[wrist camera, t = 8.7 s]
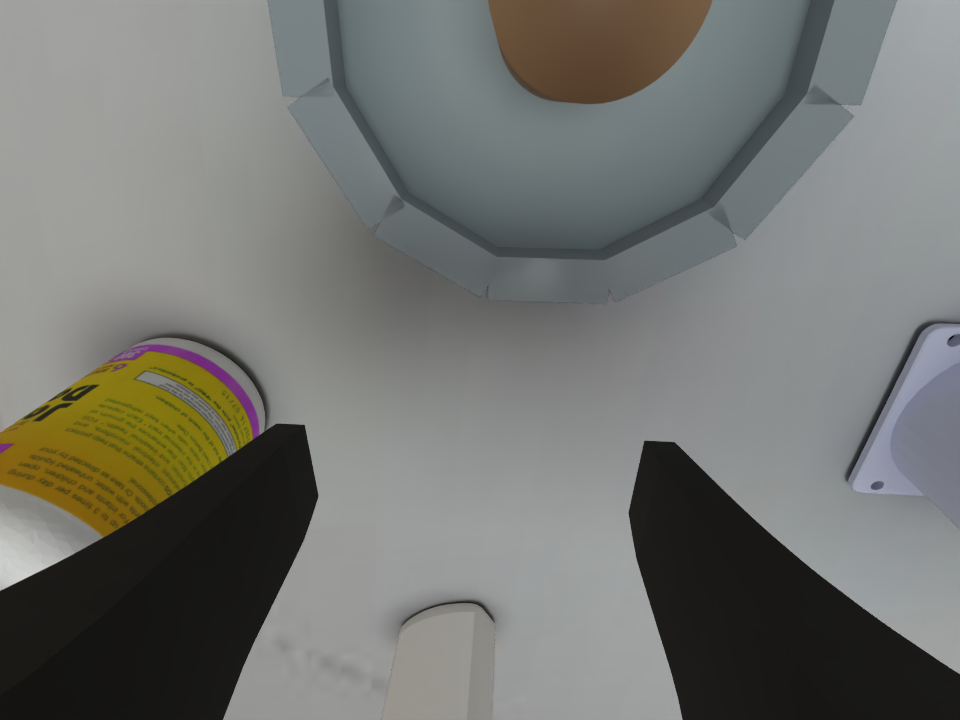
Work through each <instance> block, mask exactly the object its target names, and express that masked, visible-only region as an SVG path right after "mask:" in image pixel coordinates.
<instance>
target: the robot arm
mask: <svg viewBox="0 0 960 720" xmlns="http://www.w3.org/2000/svg"><path fill="white" fill-rule="evenodd" d="M953 335H954V337H953V338H952V339H951V340H949V341H948V339H949V338H950V337H951V336H953ZM848 484H849V486H850V487H851V488H852V489H853V490H854V491H856V492H859V493H874V494H894V495H914V496H926V497H927V498H928V499H929V500H930V501H931V502H932V503H933V504H934V505H935V506H936V507H937V508H938V509H939V510H940V511H941V512H942V513H943V514H944V515H945V516H946V517H947V518H948V519H949V520H950V521H951V522H952V523H953V524H955V525H956V526H957V527H958V528H959V529H960V324H942V323H940V324H933V325H931V326H929V327H927V328H926V329H925V330H923V331H922V333H921V334H920V336H919V338H918V340H917V342H916V344H915V346H914V348H913V350H912V352H911V354H910V356H909V358H908V360H907V362H906V364H905V366H904V368H903V370H902V372H901V374H900V376H899V378H898V380H897V382H896V384H895V386H894V388H893V390H892V392H891V394H890V396H889V398H888V400H887V402H886V404H885V406H884V408H883V410H882V413H881V415H880V417H879V419H878V421H877V423H876V425H875V427H874V429H873V431H872V433H871V435H870V437H869V439H868V441H867V443H866V445H865V447H864V449H863V451H862V453H861V455H860V457H859V459H858V461H857V463H856V465H855V467H854V469H853V471H852V473H851V475H850V477H849V480H848ZM317 499H318V491H317V486H316V481H315V476H314V471H313V466H312V461H311V455H310V450H309V445H308V440H307V435H306V430H305V425H295V424H276V425H274V426H272V427H271V428H269V429H268V430H266V431H265V432H263V433H262V434H260V435H259V436H257V437H256V438H254V439H253V440H252V441H250V442H249V443H247V444H246V445H244V446H243V447H242V448H240V449H239V450H237V451H236V452H234V453H233V454H232V455H230V456H229V457H227V458H226V459H225V460H223V461H222V462H220V463H219V464H217V465H216V466H214V467H213V468H212V469H210V470H209V471H207V472H206V473H204V474H203V475H202V476H200V477H199V478H197V479H196V480H194V481H193V482H191V483H190V484H188V485H187V486H185V487H184V488H182V489H181V490H179V491H178V492H176V493H175V494H173V495H171V496H170V497H168V498H167V499H165V500H164V501H162V502H161V503H159V504H157V505H156V506H154V507H153V508H151V509H150V510H148V511H147V512H145V513H143V514H142V515H140V516H139V517H137V518H136V519H134V520H132V521H131V522H129V523H127V524H126V525H124V526H122V527H121V528H119V529H117V530H115V531H114V532H112V533H110V534H109V535H107V536H105V537H103V538H102V539H100V540H98V541H96V542H94V543H92V544H91V545H89V546H87V547H85V548H83V549H82V550H80V551H78V552H76V553H74V554H73V555H71V556H69V557H67V558H65V559H63V560H61V561H59V562H57V563H56V564H54V565H52V566H49V567H47V568H45V569H43V570H41V571H39V572H37V573H35V574H33V575H31V576H29V577H27V578H25V579H23V580H21V581H19V582H17V583H15V584H13V585H11V586H9V587H7V588H5V589H3V590H1V591H0V720H223V718H224V715H225V713H226V710H227V707H228V705H229V702H230V700H231V697H232V694H233V692H234V689H235V686H236V684H237V681H238V679H239V676H240V673H241V671H242V668H243V666H244V664H245V661H246V659H247V657H248V655H249V652H250V650H251V648H252V646H253V643H254V641H255V639H256V637H257V635H258V633H259V631H260V629H261V627H262V625H263V623H264V621H265V619H266V617H267V615H268V613H269V611H270V609H271V607H272V605H273V602H274V600H275V598H276V596H277V594H278V592H279V590H280V588H281V586H282V584H283V582H284V580H285V578H286V576H287V574H288V572H289V570H290V568H291V566H292V564H293V562H294V559H295V557H296V555H297V553H298V551H299V549H300V547H301V545H302V543H303V540H304V538H305V535H306V532H307V529H308V527H309V524H310V521H311V518H312V515H313V512H314V509H315V506H316V502H317ZM629 518H630V524H631V530H632V536H633V542H634V547H635V552H636V558H637V562H638V565H639V568H640V572H641V575H642V578H643V582H644V585H645V588H646V592H647V595H648V598H649V602H650V605H651V608H652V611H653V614H654V618H655V621H656V624H657V627H658V631H659V634H660V637H661V640H662V644H663V647H664V650H665V653H666V657H667V660H668V663H669V666H670V670H671V673H672V677H673V681H674V684H675V688H676V692H677V696H678V700H679V704H680V709H681V714H682V719H683V720H960V674H958V673H957V672H955V671H954V670H952V669H951V668H949V667H948V666H946V665H944V664H943V663H941V662H940V661H938V660H937V659H935V658H934V657H933V656H931V655H930V654H928V653H927V652H925V651H924V650H922V649H921V648H919V647H918V646H916V645H915V644H913V643H912V642H910V641H909V640H907V639H906V638H904V637H903V636H901V635H900V634H898V633H897V632H896V631H894V630H893V629H891V628H890V627H888V626H887V625H886V624H884V623H883V622H881V621H880V620H878V619H877V618H876V617H874V616H873V615H871V614H870V613H869V612H867V611H866V610H865V609H863V608H862V607H861V606H859V605H858V604H857V603H855V602H854V601H853V600H851V599H850V598H849V597H847V596H846V595H845V594H843V593H842V592H841V591H839V590H838V589H837V588H835V587H834V586H833V585H832V584H830V583H829V582H828V581H826V580H825V579H824V578H822V577H821V576H820V575H819V574H817V573H816V572H815V571H814V570H812V569H811V568H810V567H809V566H807V565H806V564H805V563H804V562H803V561H801V560H800V559H799V558H798V557H797V556H795V555H794V554H793V553H792V552H791V551H790V550H788V549H787V548H786V547H785V546H784V545H783V544H781V543H780V542H779V541H778V540H777V539H776V538H774V537H773V536H772V535H771V534H770V533H769V532H768V531H766V530H765V529H764V528H763V527H762V526H761V525H760V524H759V523H758V522H756V521H755V520H754V519H753V518H752V517H751V516H750V515H749V514H748V513H747V512H746V511H745V510H743V509H742V508H741V507H740V506H739V505H738V504H737V503H736V502H735V501H734V500H733V499H732V498H731V497H730V496H729V495H728V494H727V493H726V492H725V491H724V490H723V489H722V488H720V487H719V486H718V485H717V484H716V483H715V482H714V481H713V480H712V479H711V478H710V477H709V476H708V475H707V474H706V473H705V472H704V471H703V470H702V469H701V468H700V467H699V466H698V465H697V464H696V463H695V462H694V461H693V460H692V459H691V458H690V457H689V456H688V455H687V454H686V453H685V452H684V451H683V450H682V449H681V448H680V447H679V446H678V445H677V444H676V443H675V442H659V441H644V445H643V450H642V454H641V459H640V463H639V468H638V472H637V477H636V482H635V486H634V491H633V495H632V500H631V504H630V509H629Z"/></svg>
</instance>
